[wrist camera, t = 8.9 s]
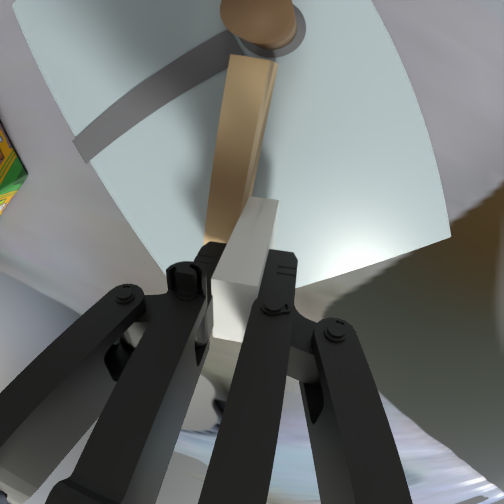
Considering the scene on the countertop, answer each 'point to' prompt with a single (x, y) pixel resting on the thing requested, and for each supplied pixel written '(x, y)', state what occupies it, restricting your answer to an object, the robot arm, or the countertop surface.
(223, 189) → the tan wooden bar
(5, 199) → the chalk box
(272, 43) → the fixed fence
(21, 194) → the countertop surface
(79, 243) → the countertop surface
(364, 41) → the card
